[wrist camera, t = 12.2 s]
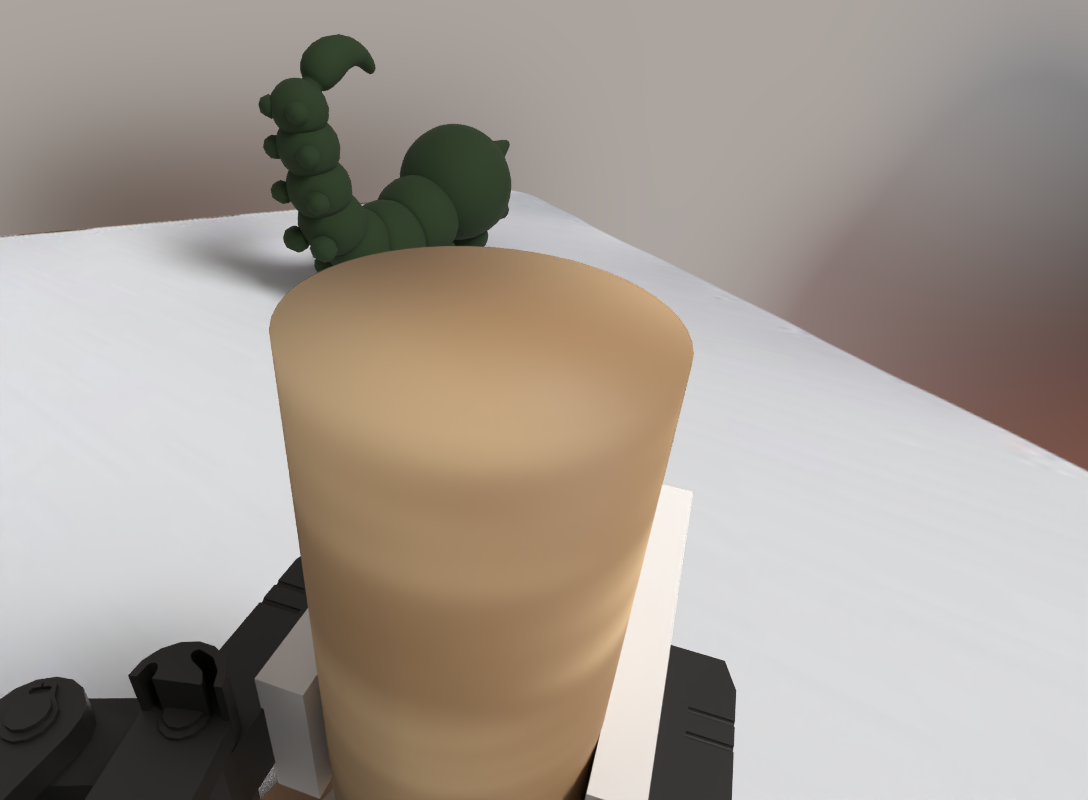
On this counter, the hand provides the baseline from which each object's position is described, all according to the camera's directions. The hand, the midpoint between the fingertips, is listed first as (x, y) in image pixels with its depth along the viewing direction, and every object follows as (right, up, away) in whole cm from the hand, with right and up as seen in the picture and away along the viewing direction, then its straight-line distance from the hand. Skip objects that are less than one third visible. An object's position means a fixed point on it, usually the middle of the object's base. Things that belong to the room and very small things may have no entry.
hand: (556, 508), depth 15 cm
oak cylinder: (-2, -10, 0) cm, 10 cm away
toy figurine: (-11, +13, +42) cm, 46 cm away
